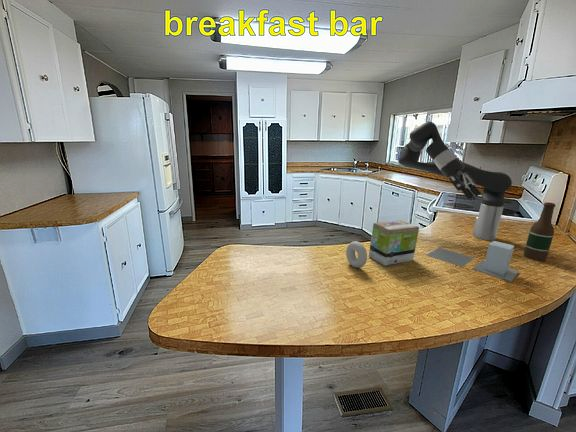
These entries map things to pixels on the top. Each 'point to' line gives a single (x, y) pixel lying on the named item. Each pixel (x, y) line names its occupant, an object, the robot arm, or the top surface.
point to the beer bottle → (540, 235)
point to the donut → (361, 254)
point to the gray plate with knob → (507, 276)
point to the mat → (450, 257)
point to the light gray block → (498, 257)
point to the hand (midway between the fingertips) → (475, 196)
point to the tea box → (393, 242)
